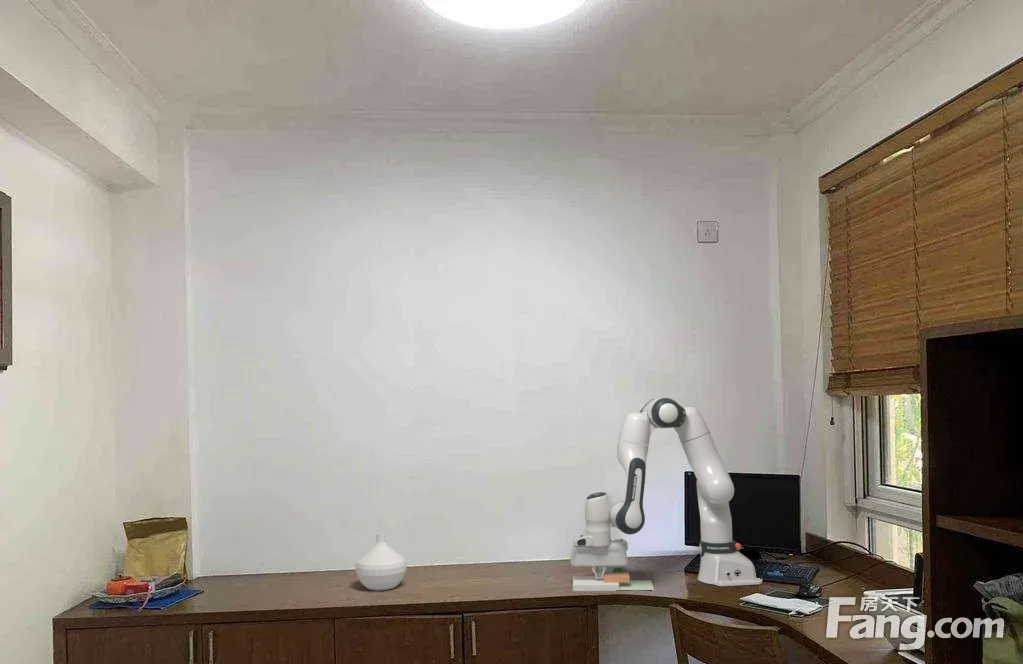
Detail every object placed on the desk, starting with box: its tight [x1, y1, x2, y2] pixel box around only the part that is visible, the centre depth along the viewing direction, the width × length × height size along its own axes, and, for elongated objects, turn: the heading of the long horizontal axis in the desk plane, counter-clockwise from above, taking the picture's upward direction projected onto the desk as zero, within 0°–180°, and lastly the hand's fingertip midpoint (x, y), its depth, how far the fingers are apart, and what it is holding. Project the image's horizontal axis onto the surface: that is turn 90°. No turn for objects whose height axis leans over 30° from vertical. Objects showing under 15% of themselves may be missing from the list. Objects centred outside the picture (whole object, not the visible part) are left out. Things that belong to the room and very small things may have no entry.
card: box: [603, 572, 631, 583], centre depth 307 cm, size 9×6×2 cm, turn 86°
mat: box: [619, 579, 655, 592], centre depth 306 cm, size 12×13×1 cm
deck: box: [572, 575, 619, 592], centre depth 307 cm, size 16×13×2 cm
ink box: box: [598, 566, 623, 573], centre depth 326 cm, size 9×5×12 cm, turn 84°
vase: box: [354, 532, 408, 591], centre depth 313 cm, size 18×18×19 cm
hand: (599, 578), depth 307 cm, fingers closed
